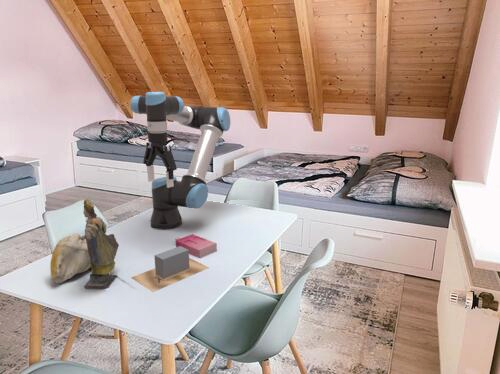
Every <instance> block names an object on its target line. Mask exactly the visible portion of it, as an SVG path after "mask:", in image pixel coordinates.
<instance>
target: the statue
mask: <svg viewBox="0 0 500 374" xmlns="http://www.w3.org/2000/svg"><path fill="white" fill-rule="evenodd" d="M83 215H84V217H85V228H84V235H82V236H80V239H81V240H82V241H83V240H84V239H86V243H87V248H88V253H89V256H90V260H91V267H90V268H91V273H90V274H89V280H88V281H87V283H86V284H85V285H84V289H87V290H89V289H90V290H91V289H93V290H94V289H95V290H97V289H98V290H100V289H101V290H102V289H105V290H106V289H108V288H109V287H110V286H111V285H112V283H113V282H114V281H115V280H116V278H117V274H113V273H112V274H111V272H112V271H113V270H114V269H115V267H116V266H115V265H116V262H115V259H116V256H117V252H118V249H119V246H120V245H119V242H118V241H117V238H116V237H115V234H114V233H110V234H107V224H106V223H105V222H104V220H103V218H101V216H97V215H98V214H97V213H96V212H95V204H94V203H93V202H92V200H90V199H89V198H85V199H84V200H83Z"/></svg>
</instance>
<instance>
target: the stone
mask: <svg viewBox="0 0 500 374" xmlns="http://www.w3.org/2000/svg"><path fill="white" fill-rule="evenodd" d="M80 237H81V234H80V233H78V232H77V233H73V234H71V235H67V236H64V237H62V238H61V239H59V241H58V242H57V244H56V245H55V247H54V249H53V251H52V252H51V259H50V267H49V268H50V275H51V280H52V281H53V282H54V283H55V284H62V283H63V282H65V281H66V280H71V278H73V276H75V275H77V274H81V273H84V272H87V271H88V270H89V269H90V268H92V267H91V260H90V256H89V253H88V248H87V243H86V239H84V240H83V241H82V240H81V239H80Z"/></svg>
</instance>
